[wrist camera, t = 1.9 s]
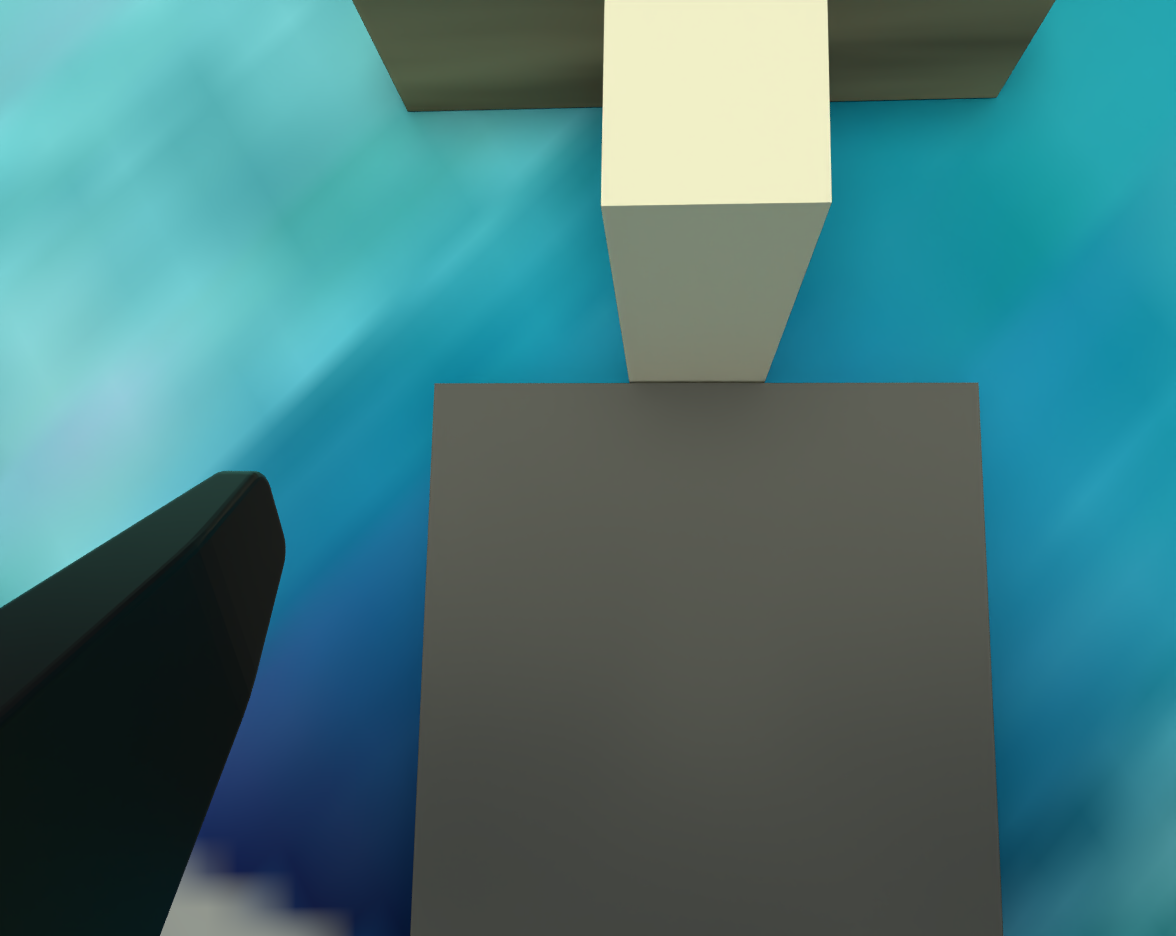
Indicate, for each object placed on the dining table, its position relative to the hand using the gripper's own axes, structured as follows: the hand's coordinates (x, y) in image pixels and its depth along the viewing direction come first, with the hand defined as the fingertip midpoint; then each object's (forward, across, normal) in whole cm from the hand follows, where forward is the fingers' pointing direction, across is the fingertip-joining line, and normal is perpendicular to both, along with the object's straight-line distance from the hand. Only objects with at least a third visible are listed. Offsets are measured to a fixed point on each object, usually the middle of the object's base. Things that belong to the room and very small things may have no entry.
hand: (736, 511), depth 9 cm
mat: (+8, 0, +10) cm, 13 cm away
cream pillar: (+14, 0, +4) cm, 15 cm away
